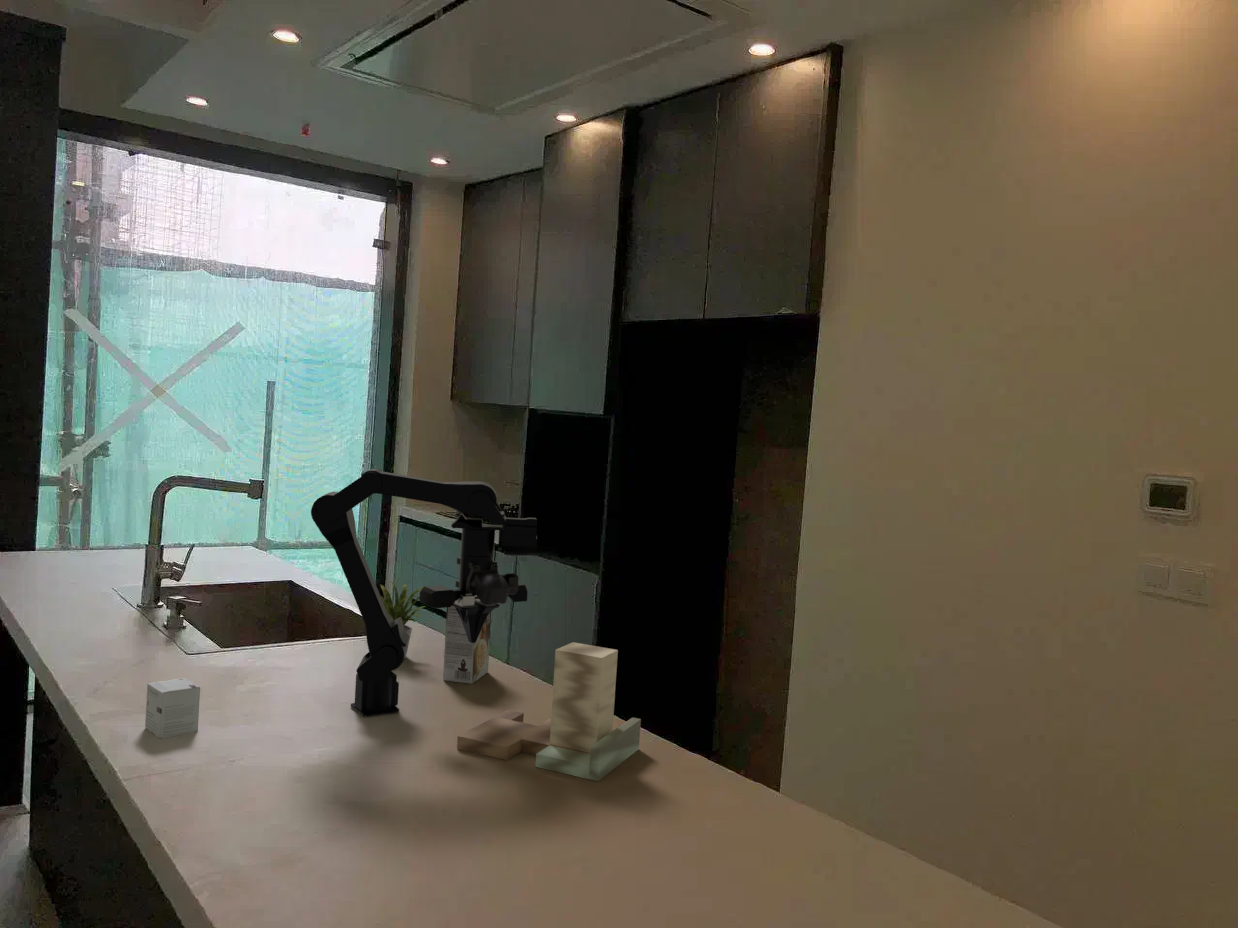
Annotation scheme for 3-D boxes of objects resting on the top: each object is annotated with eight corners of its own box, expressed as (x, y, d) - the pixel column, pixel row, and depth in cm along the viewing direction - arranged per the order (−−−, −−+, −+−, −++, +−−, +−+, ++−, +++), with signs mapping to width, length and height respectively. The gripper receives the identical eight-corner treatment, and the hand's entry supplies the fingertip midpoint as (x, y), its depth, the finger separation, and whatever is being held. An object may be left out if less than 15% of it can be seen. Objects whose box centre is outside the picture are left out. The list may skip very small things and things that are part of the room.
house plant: (446, 654, 209) (450, 579, 208) (412, 670, 196) (416, 589, 195) (388, 645, 214) (392, 571, 213) (351, 659, 201) (355, 581, 200)
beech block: (549, 743, 153) (555, 649, 152) (566, 733, 159) (572, 642, 158) (595, 754, 150) (602, 657, 149) (611, 742, 155) (617, 649, 154)
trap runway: (457, 748, 154) (458, 717, 154) (507, 721, 169) (509, 692, 168) (597, 781, 144) (600, 748, 144) (638, 749, 159) (640, 719, 159)
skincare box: (144, 728, 154) (146, 682, 153) (183, 721, 158) (185, 676, 158) (159, 739, 150) (161, 692, 149) (199, 731, 154) (201, 685, 154)
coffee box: (458, 668, 199) (463, 590, 198) (488, 672, 198) (493, 594, 197) (441, 680, 190) (446, 599, 189) (473, 684, 189) (477, 602, 188)
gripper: (450, 564, 158) (444, 659, 159) (547, 559, 169) (541, 648, 170) (420, 553, 167) (415, 643, 168) (514, 549, 178) (509, 633, 179)
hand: (472, 642), depth 171 cm, fingers closed
